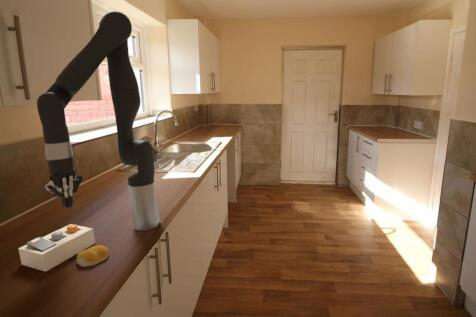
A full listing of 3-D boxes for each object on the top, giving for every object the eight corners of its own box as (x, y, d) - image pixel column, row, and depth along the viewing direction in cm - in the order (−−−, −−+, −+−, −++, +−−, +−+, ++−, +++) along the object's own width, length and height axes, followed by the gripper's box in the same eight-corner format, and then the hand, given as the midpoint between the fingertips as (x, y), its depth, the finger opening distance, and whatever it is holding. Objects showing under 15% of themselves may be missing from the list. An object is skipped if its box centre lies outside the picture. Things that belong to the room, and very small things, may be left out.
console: (73, 238, 111) (70, 224, 110) (95, 243, 107) (92, 228, 105) (21, 264, 95) (18, 248, 94) (45, 271, 91) (42, 254, 89)
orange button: (74, 230, 107) (72, 223, 106) (80, 231, 105) (79, 225, 105) (65, 234, 104) (64, 227, 103) (72, 235, 103) (71, 229, 102)
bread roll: (114, 256, 98) (112, 245, 97) (86, 270, 91) (84, 258, 90) (99, 249, 103) (97, 238, 102) (72, 262, 95) (70, 250, 95)
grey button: (59, 237, 102) (58, 230, 101) (66, 238, 101) (64, 232, 100) (50, 241, 99) (48, 235, 98) (57, 243, 98) (55, 236, 97)
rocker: (39, 239, 98) (39, 236, 97) (55, 247, 95) (55, 243, 95) (27, 245, 94) (26, 242, 94) (42, 254, 92) (42, 250, 91)
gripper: (69, 151, 106) (77, 199, 110) (31, 160, 94) (41, 213, 98) (85, 152, 103) (92, 201, 107) (48, 161, 91) (57, 216, 95)
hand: (68, 207), depth 102 cm, fingers closed
